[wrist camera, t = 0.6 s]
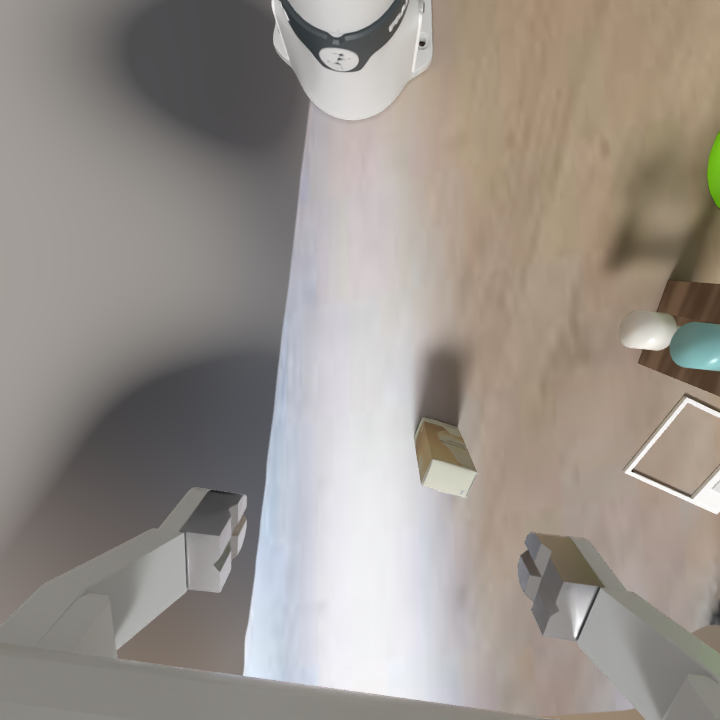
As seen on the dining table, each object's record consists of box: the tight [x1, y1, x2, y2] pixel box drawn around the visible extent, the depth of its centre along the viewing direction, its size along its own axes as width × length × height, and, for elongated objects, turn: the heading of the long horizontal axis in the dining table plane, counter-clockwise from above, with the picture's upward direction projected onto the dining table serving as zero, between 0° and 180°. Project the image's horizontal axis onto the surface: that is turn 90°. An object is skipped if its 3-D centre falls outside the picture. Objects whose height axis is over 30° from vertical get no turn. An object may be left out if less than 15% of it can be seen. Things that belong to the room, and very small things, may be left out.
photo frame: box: [623, 396, 720, 514], centre depth 54 cm, size 15×1×18 cm
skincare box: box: [414, 417, 477, 498], centre depth 49 cm, size 6×4×12 cm
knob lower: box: [619, 310, 682, 351], centre depth 40 cm, size 13×4×4 cm, turn 84°
